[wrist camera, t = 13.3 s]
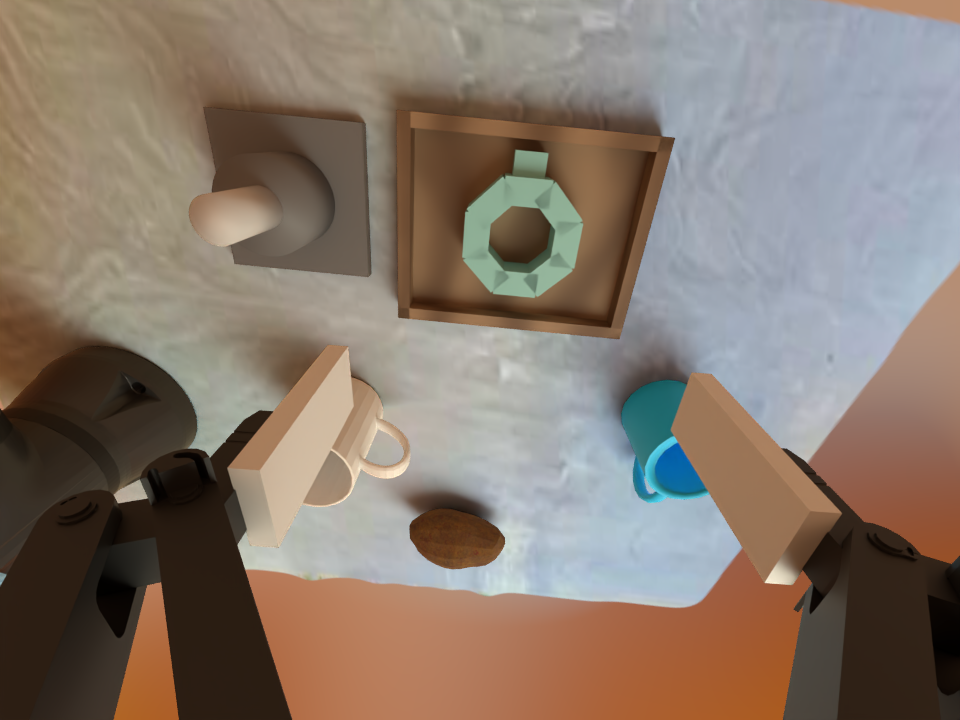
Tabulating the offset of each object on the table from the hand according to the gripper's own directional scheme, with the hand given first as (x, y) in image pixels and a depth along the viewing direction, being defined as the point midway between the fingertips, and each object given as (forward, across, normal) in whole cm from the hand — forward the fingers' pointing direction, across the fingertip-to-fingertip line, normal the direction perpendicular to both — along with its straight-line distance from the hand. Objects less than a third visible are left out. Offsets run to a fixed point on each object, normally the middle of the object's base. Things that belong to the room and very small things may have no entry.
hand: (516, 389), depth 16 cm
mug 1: (+23, -13, -18) cm, 32 cm away
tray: (+23, +1, +2) cm, 23 cm away
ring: (+22, +1, +2) cm, 22 cm away
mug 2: (+23, +18, -18) cm, 34 cm away
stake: (+23, -18, +3) cm, 29 cm away
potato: (+23, -2, -34) cm, 41 cm away
